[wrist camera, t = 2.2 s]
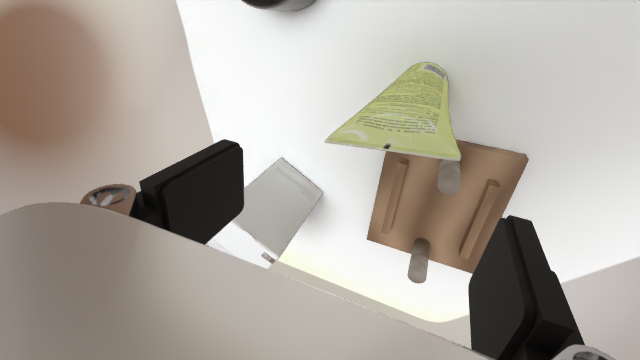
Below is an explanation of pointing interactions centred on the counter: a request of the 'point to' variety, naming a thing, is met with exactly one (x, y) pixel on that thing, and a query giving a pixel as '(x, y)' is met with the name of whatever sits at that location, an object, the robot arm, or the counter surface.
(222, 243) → the skincare box
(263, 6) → the ink bottle
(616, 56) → the counter surface
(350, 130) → the tube
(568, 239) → the counter surface
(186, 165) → the robot arm
